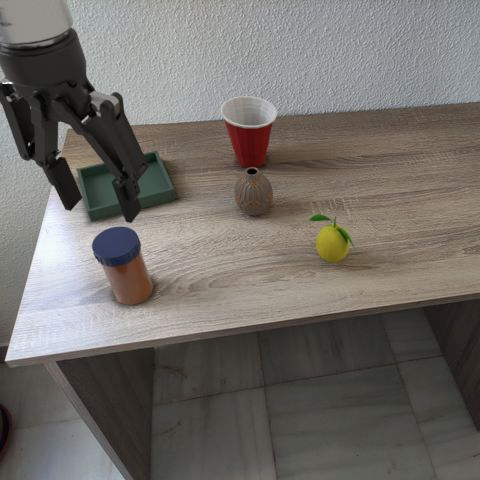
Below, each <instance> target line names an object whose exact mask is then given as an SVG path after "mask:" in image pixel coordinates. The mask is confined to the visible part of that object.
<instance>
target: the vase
mask: <svg viewBox="0 0 480 480" xmlns="http://www.w3.org/2000/svg"><path fill="white" fill-rule="evenodd" d="M233 195H234V201H235V203H236V206H238V208H239V210H240V211H241V212H243V213H244V214H245V215H248V216H253V217H255V216H260V215H263V214H265V213H266V212H267V211H268V210H269V209H270V208H271V206H272V203H273V199H274V190H273V186H272V183H271V181H270V180H269V178H268V177H267V176H265V174H263V173H262V172H261V171H260V170H259V168H258V167H257V168H255V167H249V168H245V170H244V172H243V173H242V174H241V176H239V178H238V179H237V181H236V183H235V185H234V191H233Z"/></svg>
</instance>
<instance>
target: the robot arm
mask: <svg viewBox="0 0 480 480" xmlns="http://www.w3.org/2000/svg"><path fill="white" fill-rule="evenodd" d="M73 25H74V19H73V16H72V13H71V11H70V8H69V5H68V1H67V0H0V69H1V71H2V73H3V75H4V77H3V78H1V79H0V104H1V106H2V109H3V112H4V115H5V118H6V121H7V123H8V127H9V129H10V131H11V135H12V137H13V141H14V143H15V147H16V149H17V151H18V155H19V156H20V158H21V159H22V160H24V161H26V162H30V161H34V162H35V164H36V165H37V166H38V167H39V168H42V171H43V173H44V175H45V177H46V179H47V180H48V182H49V184H50V185H51V186H52V187H54V189H55V191H56V194H57V196H58V198H59V199H60V201H61V203H62V206H63V208H64V210H65V211H69V212H71V211H72V210H73V209H74V208H75V207H76V206H77V205H78V203H80V202H81V200H82V199H84V198H83V194H82V192H81V190H80V188H79V185H78V183H77V181H76V179H75V177H74V174H73V172H72V170H71V168H70V165H69V163H68V161H67V158H66V157H65V156H59V155H60V154H61V153H62V150H59V123H63V124H65V125H69V126H70V128H71V129H72V130H73V131H74V132H75V134H76V135H78V136H82V137H83V138H84V139H85V140H86V142H87V143H88V145H89V146H90V147H91V148H92V150H93V151H94V152H95V154H96V155H97V156H98V157H99V159H100V160H101V161H102V163H104V164H105V165H106V166H107V167H108V169H109V170H110V171H111V173H112V174H113V175H114V176H115V179H114V180H113V181H112V185H113V188H114V191H115V193H116V196H117V199H118V201H119V204H120V207H121V210H122V212H123V214H122V215H123V217H124V221H125V223H128V224H132V223H133V222H134V220H135V219H136V218H137V216H138V215H139V214H140V213H141V211H142V209H143V208H141V205H140V202H139V199H138V196H139V195H140V188H139V185H138V182H137V181H138V180H139V179H140V178H141V176H142V175H143V174H144V173H145V171H146V170H147V169H148V167H149V166H148V163H147V161H146V159H145V156H144V154H143V153H144V152H143V150H142V148H141V146H140V143H139V141H138V139H137V137H136V134H135V132H134V130H133V128H132V126H131V124H130V122H129V120H128V117H127V115H126V113H125V106H124V105H125V104H124V98H123V95H122V94H121V93H120V92H118V91H113V92H112V93H111V94H110V95H108V94H106V93H103V92H99V91H97V90H96V87H94V85H93V84H92V83H91V81H90V79H89V78H88V76H87V75H88V74H87V59H86V56H85V53H84V50H83V46H82V44H81V41H80V38H79V35H78V32H77V30H75V28H73V27H72V26H73ZM57 156H59V157H57Z"/></svg>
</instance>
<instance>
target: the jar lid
mask: <svg viewBox="0 0 480 480" xmlns="http://www.w3.org/2000/svg"><path fill="white" fill-rule="evenodd" d="M91 249H92V253H93V256H94V259H95V260H96V261H97V263H98V264H100V265H101V264H102V265H105V266H107V267H117V266H122V265H125V264H127V263H129V262H131V261H133V260H134V259H135V258H136V257H137V256H138V255H139V253H140V250H141V251H142V243H141V241H140V238H139V235H138V233H137V232H136V231H135V230H134V229H133V228H131V227H128V226H121V225H120V226H113V227H109V228H107V229H104V230H103V231H100V232H99V233H98V234H96V236H95V237H94V238H93V240H92V242H91ZM102 265H101V266H102Z"/></svg>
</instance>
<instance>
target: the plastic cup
mask: <svg viewBox="0 0 480 480" xmlns="http://www.w3.org/2000/svg"><path fill="white" fill-rule="evenodd" d="M219 108H220V116H221V117H222V118H223V121H224V124H225V127H226V129H227V132H228V136H229V139H230V143H231V146H232V150H233V151H234V154H235V158H236V162H238V164H239V165H240V166H241V167H243V168H245V169H247V168H249V167H255V168H257V169H258V168H259V167H262V166H263V165H264V164H265V162H266V159H267V153H268V149H269V145H270V137H271V134H272V133H271V132H272V128H273V124H274V122H275V120H276V118H277V117H278V110H277V106H275V105H274V104H273V103H272V102H271V101H269V100H266V99H264V98H261V97H257V96H252V95H240V96H236V97H231V98H229V99H227V100H226V101H224V102H223V103H222V104H221V106H220V107H219Z"/></svg>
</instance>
